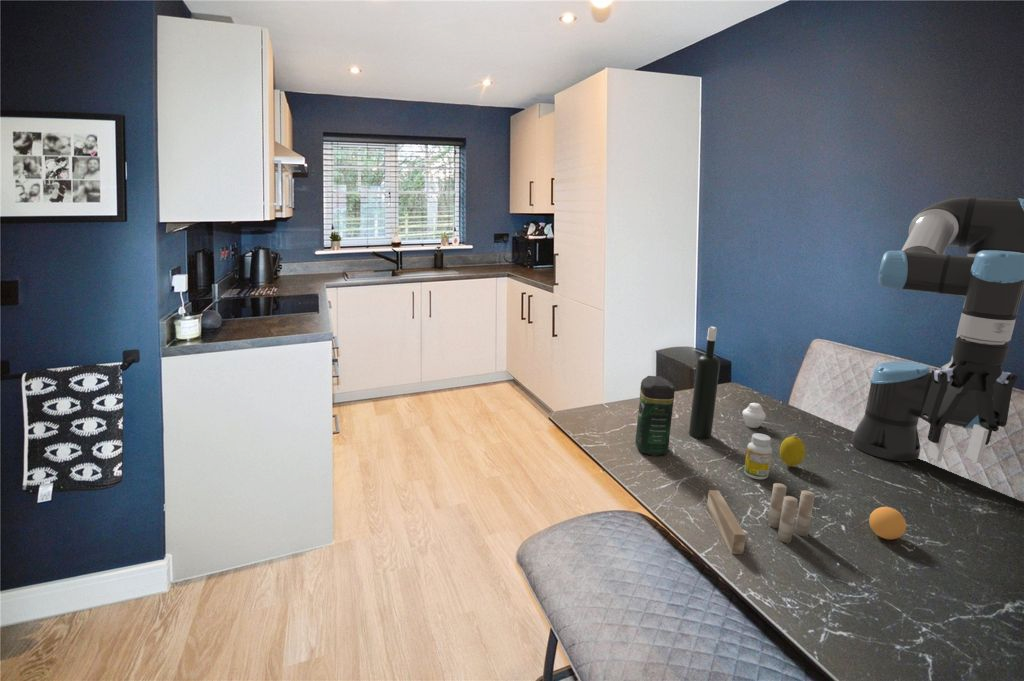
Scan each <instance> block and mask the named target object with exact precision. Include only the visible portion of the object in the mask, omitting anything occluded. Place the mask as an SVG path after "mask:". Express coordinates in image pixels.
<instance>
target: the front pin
mask: <svg viewBox="0 0 1024 681" xmlns="http://www.w3.org/2000/svg"><path fill="white" fill-rule="evenodd" d="M815 498H816V494H815V493H814V492H812V491H810V490H804V489H803V490H801V492H800V497H799V501H798V502H799V503H798V507H797V512H796V518H795V520H796V521H795V524H794V525H795V526H794V530H793V533H794V534H796V535H797V536H801V537H808V536H809V530H810V525H811V520H812V514H813V509H814V505H815V504H814V503H815Z"/></svg>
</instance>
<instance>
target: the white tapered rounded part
mask: <svg viewBox="0 0 1024 681" xmlns="http://www.w3.org/2000/svg"><path fill="white" fill-rule="evenodd" d="M741 414H742V418H743V420H744V422H745V425H746V426H747V427H748V428H750V429H758V428H759V427H761V425H762V424H763V422H764V421H765V419H766V417H767V415H766V412H765V411H764V409H763V406H762V405H761V404H760V403H758V402H751V403H749V404H748V406H747V407H746V408H744V409H743V410H742V413H741Z"/></svg>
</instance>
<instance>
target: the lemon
mask: <svg viewBox="0 0 1024 681" xmlns="http://www.w3.org/2000/svg"><path fill="white" fill-rule="evenodd" d="M779 456H780V459H781V461H782V462H783V463H784V464H786V465H787V466H788V467H793V466H798V465H799V464H801V463H802V462H803V461H804V459H805V456H806V446H805V443H804V441H803V440H802V439H800V438H799V437H798V436H797V435H793V436H788V437H786V438H784V440H783V441H782V442H781V445H780V447H779Z"/></svg>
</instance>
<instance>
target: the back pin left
mask: <svg viewBox="0 0 1024 681" xmlns="http://www.w3.org/2000/svg"><path fill="white" fill-rule="evenodd" d="M798 502H799V500H798V498H796V497H794V496H792V495H791V496H790V495H785V497H784V501H783V507H782V513H781V519H780V525H779V528H778V533H777V536H776V537H777V540H778V541H779V542H782V543H785V544H790V543H791V542H792V538H793V533H794V528H795V526H794V525H795V522H796V521H795V520H796V517H797V511H798V505H799V503H798Z"/></svg>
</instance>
